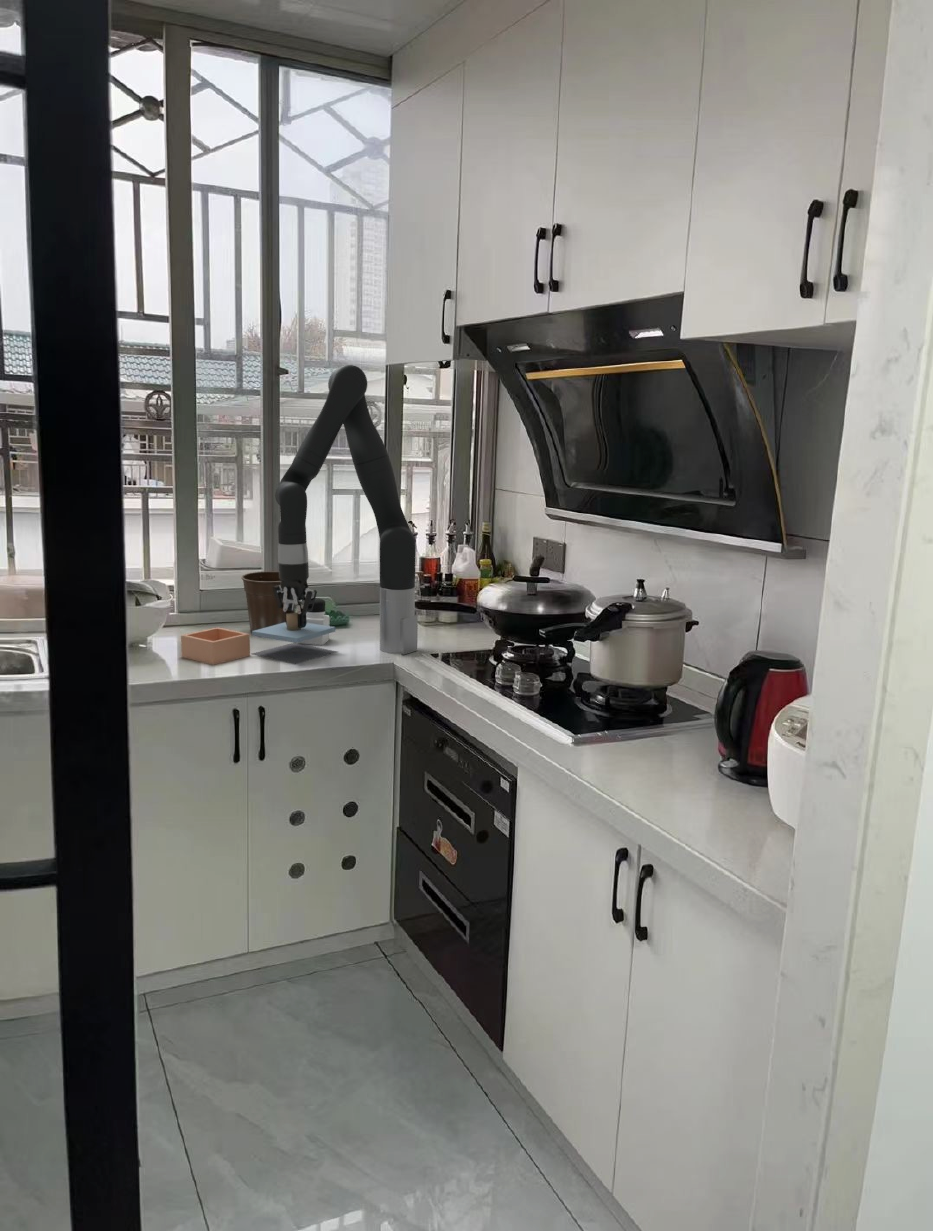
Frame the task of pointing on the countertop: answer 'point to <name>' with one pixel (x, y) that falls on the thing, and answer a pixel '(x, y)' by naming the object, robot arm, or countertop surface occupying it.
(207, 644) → the square orange box
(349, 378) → the robot arm
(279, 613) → the plant pot
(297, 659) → the mat
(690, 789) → the countertop surface
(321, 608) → the medicine bottle
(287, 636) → the lid
